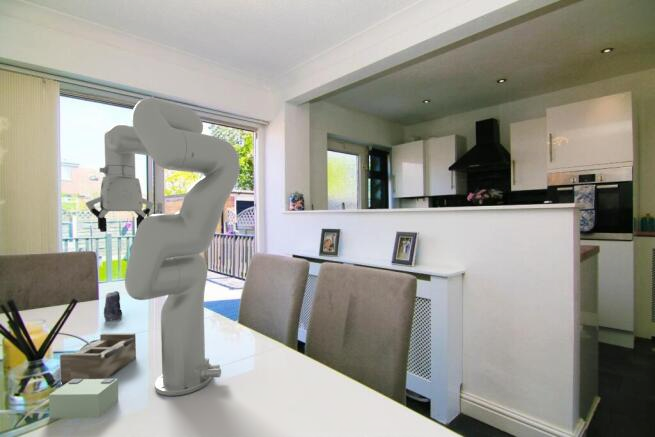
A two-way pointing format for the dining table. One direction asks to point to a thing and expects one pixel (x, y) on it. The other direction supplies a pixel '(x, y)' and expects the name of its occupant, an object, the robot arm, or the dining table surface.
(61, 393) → the grey-green block
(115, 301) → the rock
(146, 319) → the dining table surface
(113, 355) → the brown wooden box
